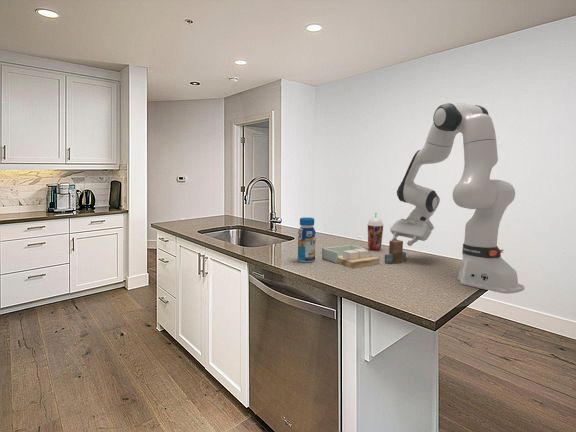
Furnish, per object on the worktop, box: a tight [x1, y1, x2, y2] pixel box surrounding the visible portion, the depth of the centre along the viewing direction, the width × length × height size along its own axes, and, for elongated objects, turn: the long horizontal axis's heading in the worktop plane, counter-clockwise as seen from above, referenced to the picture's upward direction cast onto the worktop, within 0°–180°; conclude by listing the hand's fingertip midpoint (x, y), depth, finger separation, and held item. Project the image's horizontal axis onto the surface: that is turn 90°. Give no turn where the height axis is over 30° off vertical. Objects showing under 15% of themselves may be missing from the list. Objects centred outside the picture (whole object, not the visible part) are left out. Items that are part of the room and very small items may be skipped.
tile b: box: [343, 250, 359, 260], centre depth 167 cm, size 5×5×3 cm
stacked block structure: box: [384, 239, 407, 265], centre depth 170 cm, size 4×12×10 cm, turn 121°
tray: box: [321, 244, 367, 264], centre depth 175 cm, size 11×18×5 cm, turn 121°
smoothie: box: [367, 212, 384, 252], centre depth 196 cm, size 8×8×20 cm
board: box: [337, 255, 381, 269], centre depth 167 cm, size 10×16×2 cm, turn 121°
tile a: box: [354, 248, 370, 258], centre depth 170 cm, size 5×5×3 cm
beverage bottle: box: [297, 217, 317, 263], centre depth 170 cm, size 8×8×20 cm
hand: (400, 243), depth 171 cm, fingers open, 8 cm apart
